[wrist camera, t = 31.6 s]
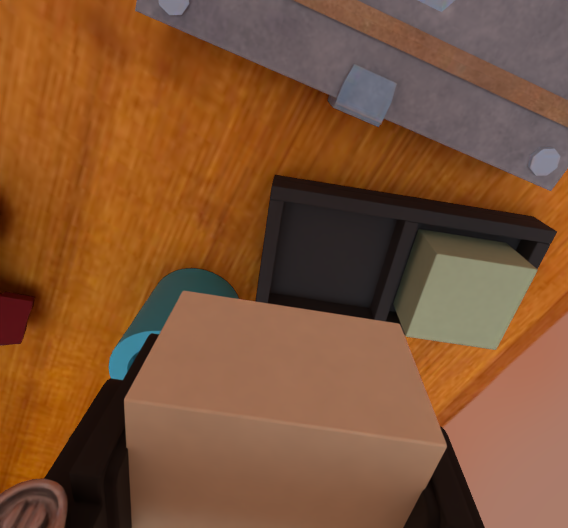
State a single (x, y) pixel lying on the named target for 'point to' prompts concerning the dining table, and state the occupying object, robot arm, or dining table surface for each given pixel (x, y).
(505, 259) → the sage block
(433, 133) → the book
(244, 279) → the dining table surface
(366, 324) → the cream block
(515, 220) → the black divided tray
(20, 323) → the mechanical component
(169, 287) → the teal cylinder
